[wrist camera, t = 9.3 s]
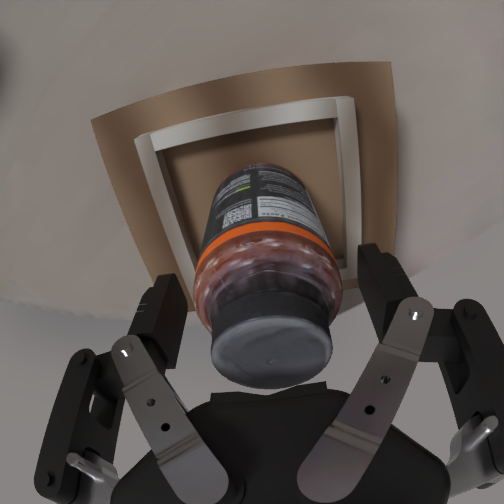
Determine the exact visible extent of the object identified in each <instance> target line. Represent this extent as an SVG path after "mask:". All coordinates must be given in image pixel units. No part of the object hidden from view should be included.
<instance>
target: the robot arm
mask: <svg viewBox="0 0 504 504" xmlns="http://www.w3.org/2000/svg"><path fill="white" fill-rule="evenodd" d="M357 279H358V284H359V288H360V290H361V293H362V296H363V298H364V301H365V304H366V306H367V309H368V312H369V314H370V317H371V320H372V323H373V325H374V328H375V331H376V334H377V337H378V339H379V343H378V345H377V346H376V348H375V350H374V353H373V354H372V356H371V358H370V360H369V362H368V364H367V366H366V368H365V369H364V371H363V373H362V375H361V377H360V378H359V380H358V382H357V384H356V386H355V388H354V389H353V391H352V392H351V394H348V393H346V392H343V391H339V390H333V389H327V385H326V381H324V382H318V383H311V384H304V385H297V386H294V387H292V388H289V389H286V390H283V391H280V392H277V393H274V394H271V395H258V394H250V393H244V392H224V393H211V398H210V401H209V402H206V403H203V404H201V405H199V406H197V407H195V408H194V409H192V410H190V411H188V409H187V408H186V407H185V405H184V404H183V402H182V401H181V399H180V398H179V396H178V395H177V393H176V392H175V390H174V389H173V387H172V386H171V384H170V382H169V381H168V379H167V378H166V376H165V371H166V369H175V367H176V363H177V357H178V353H179V348H180V344H181V339H182V334H183V330H184V326H185V321H186V317H187V312H188V303H187V299H186V297H185V294H184V292H183V290H182V287H181V285H180V283H179V280H178V278H177V276H176V274H175V273H170V274H164V275H158V276H157V278H156V281H155V283H154V286H153V287H150V288H149V289H148V290H147V291H146V292H145V293H144V294H143V296H142V298H141V301H140V303H139V306H138V308H137V312H136V313H135V316H134V319H133V321H132V324H131V326H130V329H129V332H128V334H127V336H123V337H121V338H120V339H118V340H117V341H116V342H115V343H114V345H113V346H112V349H111V351H109V352H106V353H103V354H100V355H97V356H96V355H95V353H94V352H93V351H92V350H91V349H82V350H79V351H78V352H76V353H75V354H74V355H73V356H72V358H71V359H70V361H69V364H68V367H67V369H66V372H65V375H64V377H63V380H62V383H61V386H60V389H59V391H58V394H57V397H56V400H55V403H54V406H53V409H52V412H51V415H50V419H49V423H48V425H47V429H46V432H45V436H44V439H43V443H42V447H41V450H40V454H39V458H38V463H37V467H36V471H35V475H34V485H35V488H36V490H37V492H38V493H39V494H40V495H41V496H43V497H45V498H47V499H49V500H52V501H54V502H56V503H57V504H447V501H448V499H449V498H451V497H454V496H456V495H459V494H461V493H464V492H466V491H469V490H471V489H474V488H478V489H485V488H488V487H489V486H492V485H493V484H495V483H497V482H499V481H501V480H503V479H504V344H503V342H502V341H501V339H500V337H499V335H498V333H497V331H496V329H495V327H494V325H493V323H492V322H491V320H490V318H489V316H488V314H487V313H486V311H485V309H484V307H483V306H482V305H481V304H480V303H479V302H477V301H475V300H472V299H463V300H460V301H458V302H457V303H456V304H455V306H454V309H436V308H433V306H432V305H431V303H430V302H429V301H427V300H425V299H423V298H421V297H418V295H417V293H416V291H415V289H414V288H413V286H412V284H411V282H410V281H409V279H408V277H407V275H406V274H405V272H404V270H403V268H401V265H400V263H399V262H398V260H397V258H395V257H394V256H393V255H391V254H390V253H388V252H385V253H381V252H380V250H379V248H378V246H377V245H376V243H368V244H362V245H358V248H357ZM418 362H438V364H439V367H440V370H441V372H442V375H443V378H444V381H445V384H446V388H447V390H448V394H449V397H450V400H451V404H452V407H453V411H454V414H455V417H456V421H457V425H458V429H459V431H458V432H457V433H456V434H455V435H454V437H453V438H452V441H451V444H450V458H449V461H448V463H447V465H446V466H445V464H444V463H443V462H442V461H441V460H440V459H439V458H438V457H437V456H435V455H434V454H432V453H431V452H430V451H428V450H427V449H425V448H424V447H423V446H421V445H420V444H418V443H417V442H416V441H414V440H413V439H411V438H410V437H409V436H407V435H406V434H405V433H403V432H402V431H400V430H399V429H398V428H396V427H395V426H394V425H392V424H391V423H392V421H393V419H394V417H395V415H396V413H397V410H398V408H399V406H400V404H401V402H402V399H403V397H404V395H405V393H406V390H407V388H408V386H409V383H410V381H411V378H412V375H413V373H414V371H415V368H416V366H417V363H418ZM92 394H93V395H94V396H95V397H94V401H93V404H92V409H91V412H89V405H90V401H91V398H92ZM125 398H126V400H127V402H128V404H129V406H130V408H131V410H132V412H133V414H134V416H135V419H136V420H137V422H138V424H139V426H140V428H141V430H142V432H143V434H144V436H145V438H146V440H147V441H148V443H149V445H150V447H151V450H150V451H149V452H148V453H147V454H146V455H145V456H144V457H143V458H142V459H141V460H140V461H139V462H138V463H137V464H136V465H135V466H134V467H133V468H132V469H131V470H130V471H129V472H128V473H127V474H126V475H124V476H123V477H122V478H121V479H120V480H119V478H118V474H117V470H116V468H115V467H114V466H113V460H114V454H115V448H116V442H117V436H118V431H119V426H120V421H121V416H122V411H123V406H124V402H125Z"/></svg>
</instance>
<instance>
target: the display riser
mask: <svg viewBox="0 0 504 504" xmlns="http://www.w3.org/2000/svg"><path fill="white" fill-rule="evenodd" d="M91 124H92V127H93V130H94V133H95V137H96V140H97V143H98V146H99V149H100V152H101V155H102V158H103V161H104V164H105V166H106V169H107V172H108V175H109V178H110V180H111V183H112V186H113V189H114V191H115V194H116V196H117V199H118V202H119V204H120V207H121V209H122V212H123V214H124V217H125V219H126V222H127V224H128V227H129V229H130V231H131V234H132V236H133V238H134V241H135V243H136V245H137V248H138V250H139V252H140V255H141V257H142V259H143V261H144V263H145V266H146V268H147V270H148V272H149V274H150V277H151V279H152V281H153V283H155V281H156V278H157V276H158V275H164V274H170V273H175V274H176V276H177V278H178V280H179V283H180V285H181V287H182V290H183V292H184V294H185V297H186V299H187V303H188V312H191V311H196V310H195V306H194V302H193V286H194V280H195V273H196V268H197V264H198V259H199V255H200V250H201V246H202V242H203V238H204V233H205V229H206V226H207V221H208V217H209V213H210V209H211V205H212V201H213V198H214V195H215V193H216V191H217V189H218V187H219V185H220V183H221V182H222V181H223V180H224V179H225V178H226V177H227V176H228V175H229V174H230V173H232V172H233V171H235V170H236V169H238V168H240V167H242V166H246V165H249V164H255V163H270V164H274V165H278V166H281V167H283V168H285V169H287V170H289V171H290V172H292V173H293V174H295V175H296V176H297V177H298V178H299V179H300V181H301V182H302V183H303V185H304V187H305V188H306V190H307V192H308V194H309V196H310V198H311V201H312V203H313V206H314V208H315V210H316V213H317V215H318V217H319V220H320V222H321V225H322V227H323V230H324V232H325V234H326V237H327V240H328V242H329V245H330V247H331V250H332V252H333V255H334V258H335V260H336V263H337V266H338V269H339V272H340V276H341V280H342V290H345V289H350V288H356V287H359V284H358V279H357V248H358V245H362V244H368V243H376V245H377V246H378V248H379V250H380V252H381V253H385V252H388V253H390V254H391V255H393V256H394V247H395V234H396V218H397V192H398V148H397V123H396V108H395V95H394V85H393V76H392V67H391V62H342V63H326V64H313V65H303V66H294V67H286V68H278V69H271V70H265V71H259V72H253V73H247V74H242V75H236V76H231V77H227V78H222V79H217V80H213V81H209V82H205V83H200V84H196V85H193V86H189V87H185V88H181V89H178V90H174V91H171V92H167V93H164V94H161V95H157V96H154V97H151V98H148V99H145V100H142V101H139V102H136V103H133V104H130V105H128V106H125V107H122V108H119V109H117V110H114V111H111V112H109V113H106V114H104V115H101V116H99V117H96V118H94V119H92V120H91Z"/></svg>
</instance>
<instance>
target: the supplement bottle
mask: <svg viewBox="0 0 504 504" xmlns="http://www.w3.org/2000/svg"><path fill="white" fill-rule="evenodd" d="M341 301H342V280H341V276H340V272H339V269H338V266H337V263H336V260H335V258H334V255H333V252H332V250H331V247H330V245H329V242H328V240H327V237H326V234H325V232H324V230H323V227H322V225H321V222H320V220H319V217H318V215H317V213H316V210H315V208H314V206H313V203H312V201H311V198H310V196H309V194H308V192H307V190H306V188H305V187H304V185H303V183H302V182H301V181H300V179H299V178H298V177H297V176H296V175H295V174H293V173H292V172H290V171H289V170H287V169H285V168H283V167H281V166H278V165H274V164H270V163H255V164H249V165H246V166H242V167H240V168H238V169H236V170H235V171H233V172H232V173H230V174H229V175H228V176H227V177H226V178H225V179H224V180H223V181H222V182H221V183H220V185H219V187H218V189H217V191H216V193H215V195H214V198H213V201H212V205H211V209H210V213H209V217H208V221H207V226H206V229H205V233H204V238H203V242H202V246H201V250H200V255H199V259H198V264H197V268H196V273H195V280H194V286H193V302H194V306H195V310H196V312H197V315H198V317H199V319H200V320H201V322H202V324H203V325H204V326H205V328H206V329H207V330H208V331H209V332H210V333H211V334H212V345H211V358H212V362H213V365H214V366H215V368H216V369H217V370H218V372H219V373H221V375H223V376H224V377H226V378H227V379H228V380H230V381H232V382H235V383H238V384H240V385H243V386H246V387H251V388H257V389H280V388H286V387H290V386H294V385H297V384H301V383H303V382H305V381H307V380H310V379H311V378H313V377H314V376H316V375H317V374H318V373H320V372H321V371H322V370H323V368H325V367H326V365H327V364H328V362H329V360H330V358H331V355H332V350H333V346H332V340H331V335H330V330H329V326H330V325H331V323H332V322H333V320H334V319H335V317H336V315H337V313H338V311H339V308H340V305H341Z"/></svg>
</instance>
